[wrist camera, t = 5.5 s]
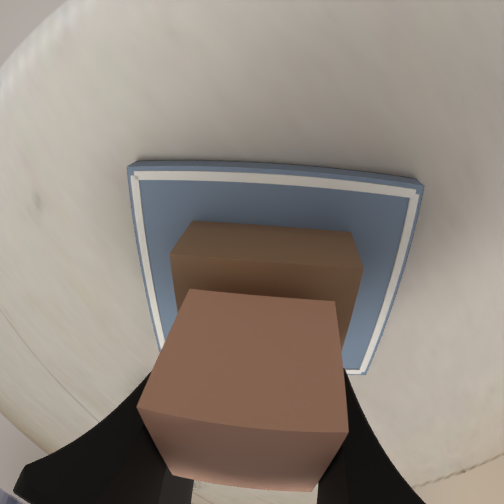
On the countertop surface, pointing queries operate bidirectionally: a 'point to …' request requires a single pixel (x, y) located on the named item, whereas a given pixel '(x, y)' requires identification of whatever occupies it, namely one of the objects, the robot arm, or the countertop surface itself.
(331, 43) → the countertop surface
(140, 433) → the robot arm
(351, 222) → the blueprint board
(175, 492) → the sundae
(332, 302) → the terracotta block
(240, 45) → the countertop surface
